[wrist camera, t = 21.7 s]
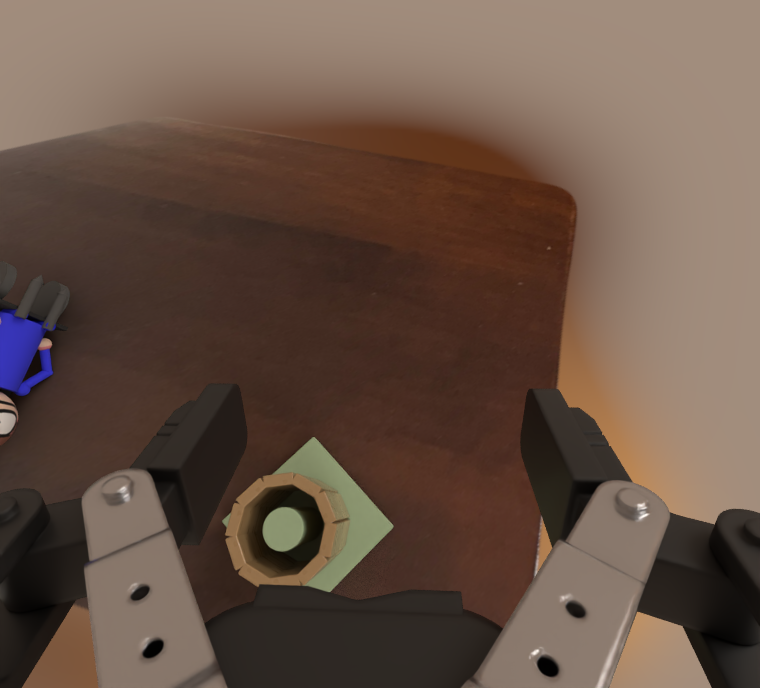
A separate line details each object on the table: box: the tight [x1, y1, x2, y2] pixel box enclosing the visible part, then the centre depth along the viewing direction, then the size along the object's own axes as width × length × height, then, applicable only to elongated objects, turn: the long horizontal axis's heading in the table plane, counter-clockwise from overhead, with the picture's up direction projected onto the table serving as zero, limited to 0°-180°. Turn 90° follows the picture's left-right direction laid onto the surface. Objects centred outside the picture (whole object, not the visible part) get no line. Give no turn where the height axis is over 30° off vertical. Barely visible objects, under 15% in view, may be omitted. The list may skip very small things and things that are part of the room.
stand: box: [222, 437, 393, 592], centre depth 31 cm, size 9×9×9 cm
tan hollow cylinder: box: [225, 472, 350, 587], centre depth 30 cm, size 6×6×8 cm
